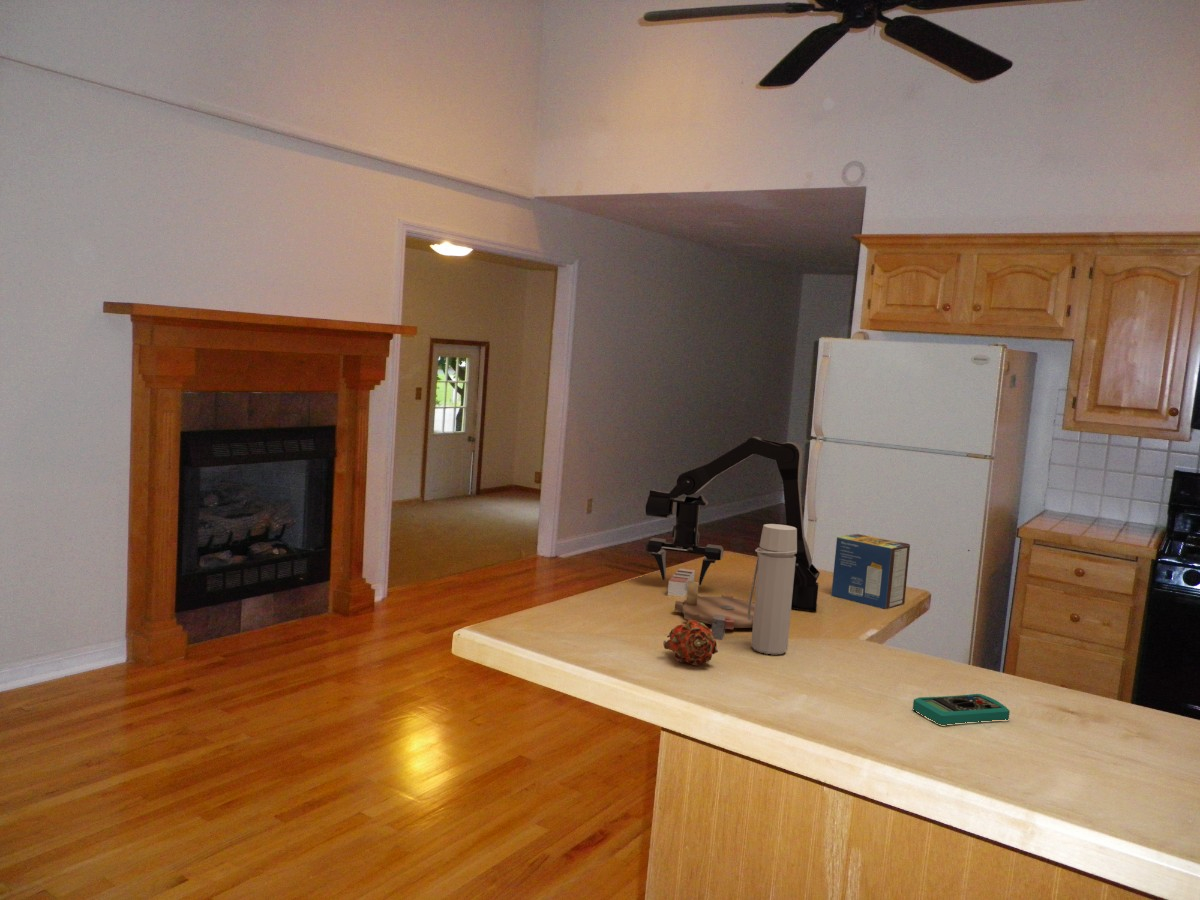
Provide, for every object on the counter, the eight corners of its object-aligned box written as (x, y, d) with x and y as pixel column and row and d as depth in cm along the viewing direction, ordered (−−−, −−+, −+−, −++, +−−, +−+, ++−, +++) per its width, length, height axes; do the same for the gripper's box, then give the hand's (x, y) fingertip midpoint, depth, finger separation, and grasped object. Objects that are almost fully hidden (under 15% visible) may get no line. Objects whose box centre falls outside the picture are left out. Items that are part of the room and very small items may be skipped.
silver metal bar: (693, 585, 233) (694, 569, 233) (683, 599, 218) (685, 582, 217) (678, 583, 234) (679, 567, 234) (667, 597, 219) (668, 580, 218)
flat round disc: (726, 597, 217) (729, 570, 217) (801, 622, 199) (804, 593, 198) (653, 606, 203) (655, 578, 203) (726, 635, 185) (729, 604, 184)
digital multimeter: (1012, 724, 150) (1014, 706, 150) (939, 729, 145) (941, 712, 145) (980, 707, 157) (981, 691, 157) (909, 712, 152) (911, 695, 152)
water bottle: (795, 651, 180) (806, 528, 178) (773, 659, 174) (785, 531, 172) (756, 640, 186) (767, 521, 184) (734, 646, 181) (745, 523, 178)
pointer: (725, 633, 190) (726, 615, 189) (722, 639, 185) (724, 620, 185) (713, 631, 190) (715, 613, 190) (710, 637, 186) (712, 618, 185)
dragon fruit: (706, 682, 163) (669, 670, 173) (736, 650, 167) (698, 641, 177) (683, 646, 161) (647, 636, 171) (714, 615, 164) (677, 607, 175)
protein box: (850, 590, 239) (855, 533, 238) (905, 604, 228) (911, 544, 227) (829, 595, 232) (835, 536, 230) (885, 609, 221) (892, 547, 220)
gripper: (728, 520, 230) (723, 580, 231) (656, 512, 235) (651, 571, 236) (722, 527, 219) (717, 590, 220) (647, 518, 224) (643, 580, 225)
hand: (681, 582), depth 226 cm, fingers open, 9 cm apart
